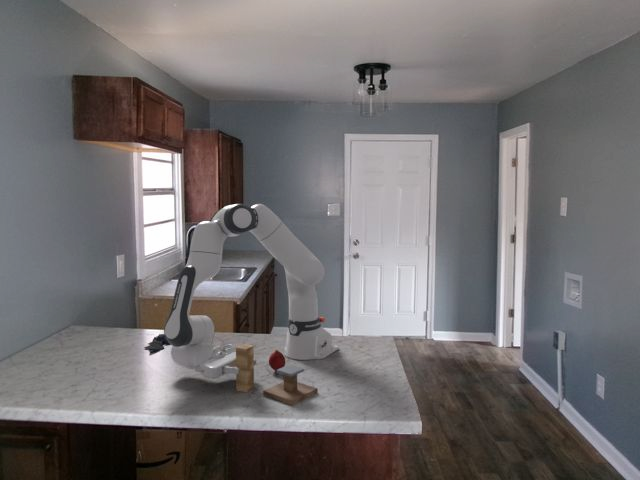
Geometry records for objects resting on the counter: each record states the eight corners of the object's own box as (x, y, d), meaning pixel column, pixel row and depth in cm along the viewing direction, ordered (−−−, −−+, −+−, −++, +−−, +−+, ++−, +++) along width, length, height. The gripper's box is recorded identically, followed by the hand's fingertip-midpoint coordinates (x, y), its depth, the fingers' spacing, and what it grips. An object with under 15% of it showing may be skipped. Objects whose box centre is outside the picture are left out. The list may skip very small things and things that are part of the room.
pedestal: (289, 383, 173) (288, 360, 173) (317, 392, 166) (317, 368, 165) (263, 395, 164) (262, 370, 163) (292, 405, 157) (291, 379, 156)
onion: (288, 369, 187) (287, 347, 186) (281, 375, 181) (281, 352, 180) (272, 367, 189) (272, 345, 188) (266, 373, 183) (265, 350, 182)
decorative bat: (176, 323, 233) (195, 327, 230) (176, 332, 234) (195, 336, 230) (129, 342, 206) (150, 347, 202) (129, 352, 206) (150, 357, 203)
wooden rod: (243, 385, 172) (243, 343, 170) (254, 388, 170) (253, 345, 168) (236, 390, 168) (235, 347, 167) (246, 392, 166) (245, 349, 165)
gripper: (191, 359, 165) (226, 366, 158) (232, 342, 183) (265, 348, 176) (191, 379, 166) (226, 387, 159) (232, 360, 184) (265, 366, 177)
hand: (247, 366), depth 168 cm, fingers open, 7 cm apart
